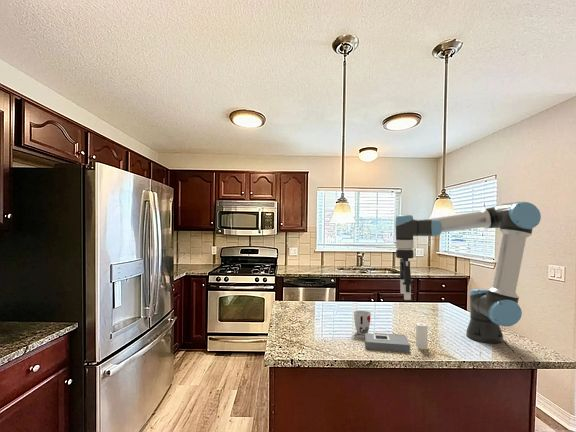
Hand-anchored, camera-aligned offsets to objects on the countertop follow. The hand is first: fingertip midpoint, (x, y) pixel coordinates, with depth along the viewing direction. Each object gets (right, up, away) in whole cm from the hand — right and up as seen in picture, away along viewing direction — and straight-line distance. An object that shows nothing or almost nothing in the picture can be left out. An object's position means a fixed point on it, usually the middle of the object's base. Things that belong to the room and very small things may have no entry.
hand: (405, 296), depth 148 cm
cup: (-16, -22, +15) cm, 31 cm away
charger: (+5, -21, -5) cm, 22 cm away
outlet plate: (-9, -21, -3) cm, 23 cm away
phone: (-4, -22, +9) cm, 24 cm away
